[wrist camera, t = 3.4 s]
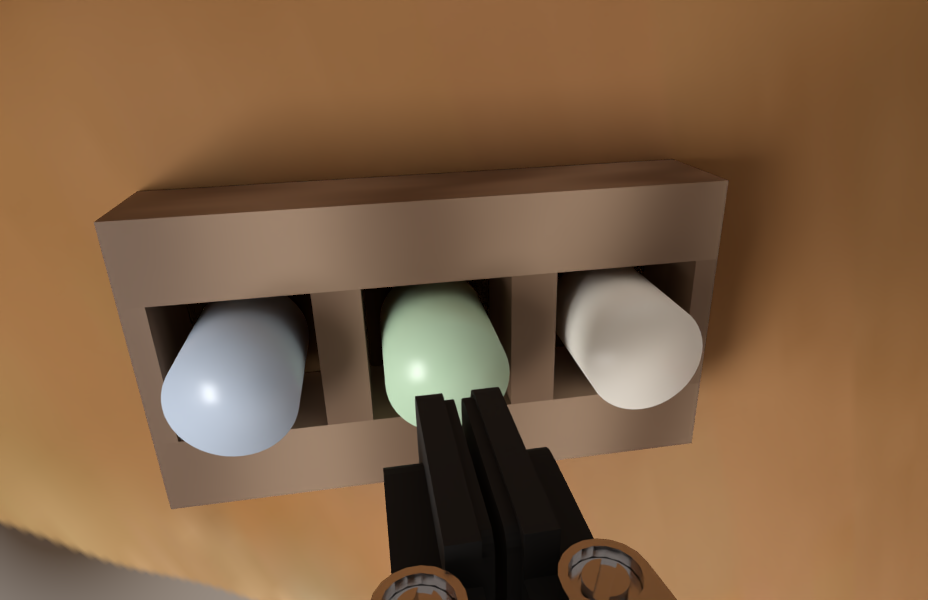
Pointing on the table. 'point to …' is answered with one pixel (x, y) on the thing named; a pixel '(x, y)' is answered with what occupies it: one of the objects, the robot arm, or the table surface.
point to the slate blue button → (238, 376)
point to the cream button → (626, 336)
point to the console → (398, 264)
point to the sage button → (438, 345)
